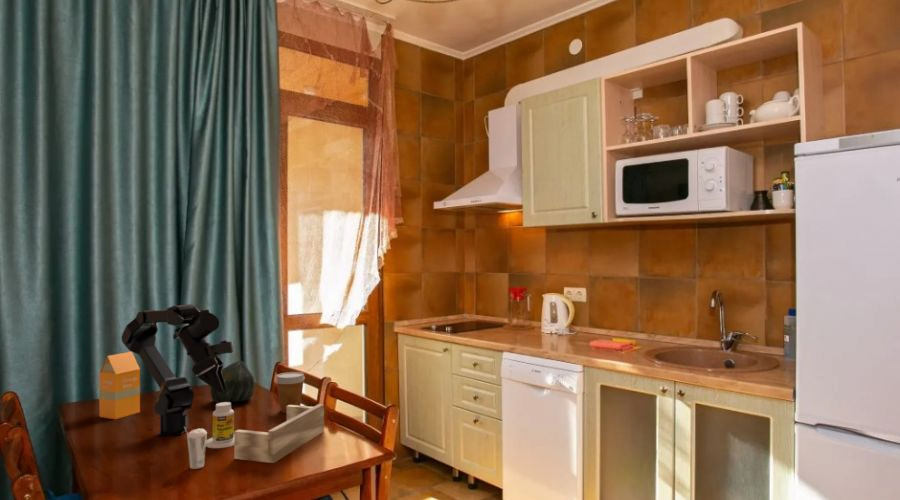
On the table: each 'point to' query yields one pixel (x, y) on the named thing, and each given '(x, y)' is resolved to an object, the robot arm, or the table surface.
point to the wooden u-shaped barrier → (280, 435)
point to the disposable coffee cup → (289, 389)
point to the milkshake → (196, 447)
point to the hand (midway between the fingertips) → (223, 391)
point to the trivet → (218, 444)
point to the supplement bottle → (223, 423)
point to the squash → (235, 384)
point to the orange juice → (119, 386)
